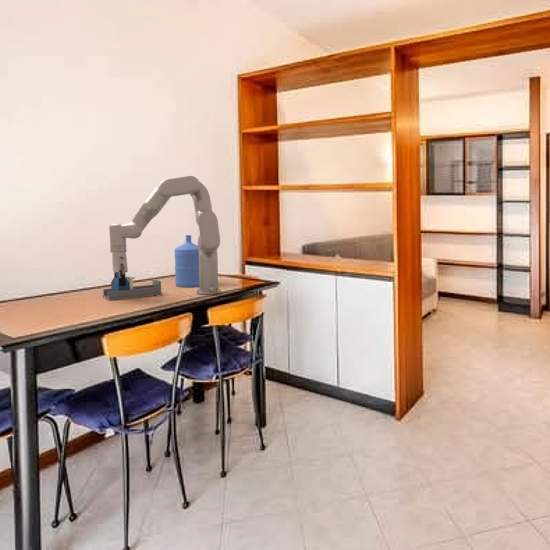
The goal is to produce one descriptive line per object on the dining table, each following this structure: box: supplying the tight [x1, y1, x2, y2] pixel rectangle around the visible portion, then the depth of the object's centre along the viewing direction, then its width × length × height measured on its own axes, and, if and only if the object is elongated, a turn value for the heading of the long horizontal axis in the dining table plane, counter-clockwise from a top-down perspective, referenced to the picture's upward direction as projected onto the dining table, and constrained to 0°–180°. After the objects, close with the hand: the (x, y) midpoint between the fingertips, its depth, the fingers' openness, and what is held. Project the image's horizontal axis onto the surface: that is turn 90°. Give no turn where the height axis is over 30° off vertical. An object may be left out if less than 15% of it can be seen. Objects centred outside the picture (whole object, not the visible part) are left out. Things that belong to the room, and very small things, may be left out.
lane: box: [102, 278, 163, 301], centre depth 258 cm, size 12×26×7 cm, turn 122°
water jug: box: [174, 234, 200, 288], centre depth 289 cm, size 16×16×28 cm
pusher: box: [126, 275, 136, 290], centre depth 257 cm, size 7×2×8 cm, turn 32°
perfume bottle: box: [110, 271, 130, 291], centre depth 254 cm, size 6×6×12 cm
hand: (120, 284), depth 255 cm, fingers closed on perfume bottle, 7 cm apart
